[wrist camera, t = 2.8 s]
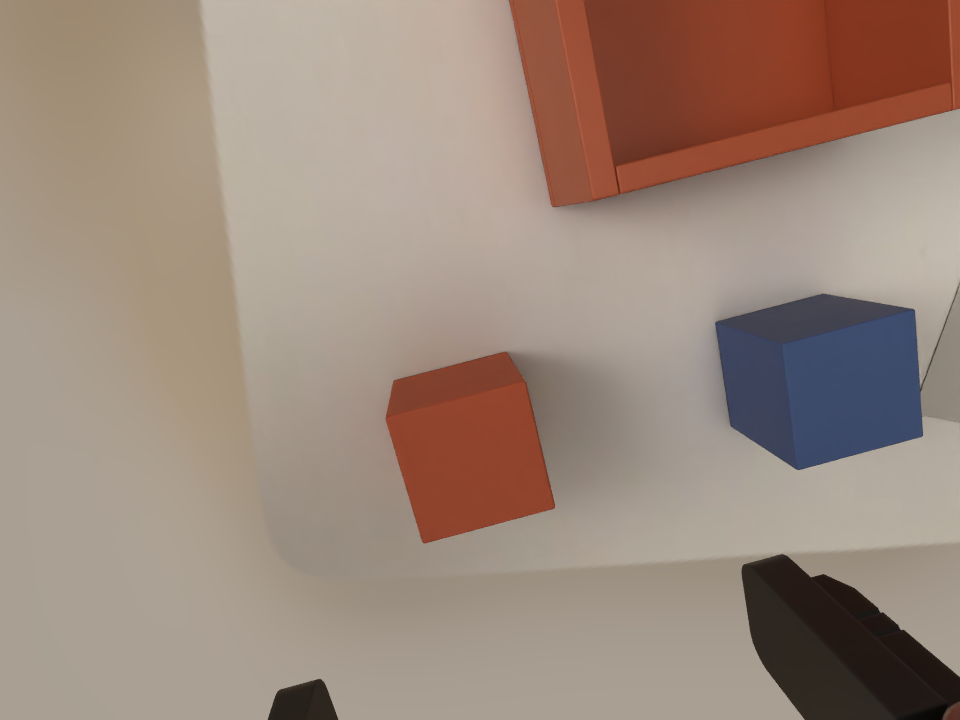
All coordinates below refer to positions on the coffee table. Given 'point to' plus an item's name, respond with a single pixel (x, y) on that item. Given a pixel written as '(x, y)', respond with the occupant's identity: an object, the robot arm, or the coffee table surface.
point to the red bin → (721, 81)
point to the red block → (468, 447)
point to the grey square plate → (945, 372)
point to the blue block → (822, 377)
